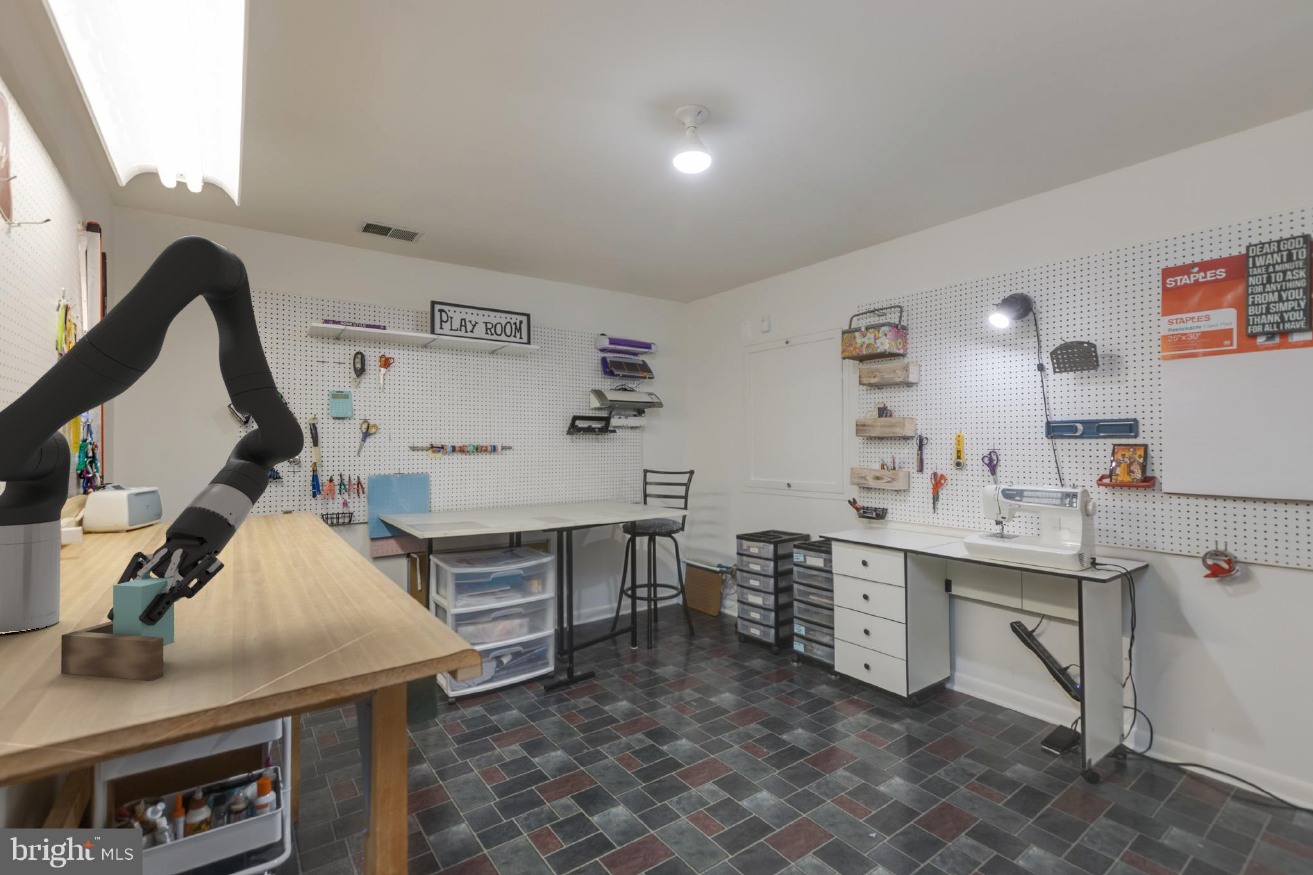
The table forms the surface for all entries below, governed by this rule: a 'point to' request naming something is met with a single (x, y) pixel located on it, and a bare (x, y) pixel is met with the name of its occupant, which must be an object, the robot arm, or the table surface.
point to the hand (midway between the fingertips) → (130, 621)
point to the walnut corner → (111, 654)
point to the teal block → (140, 609)
